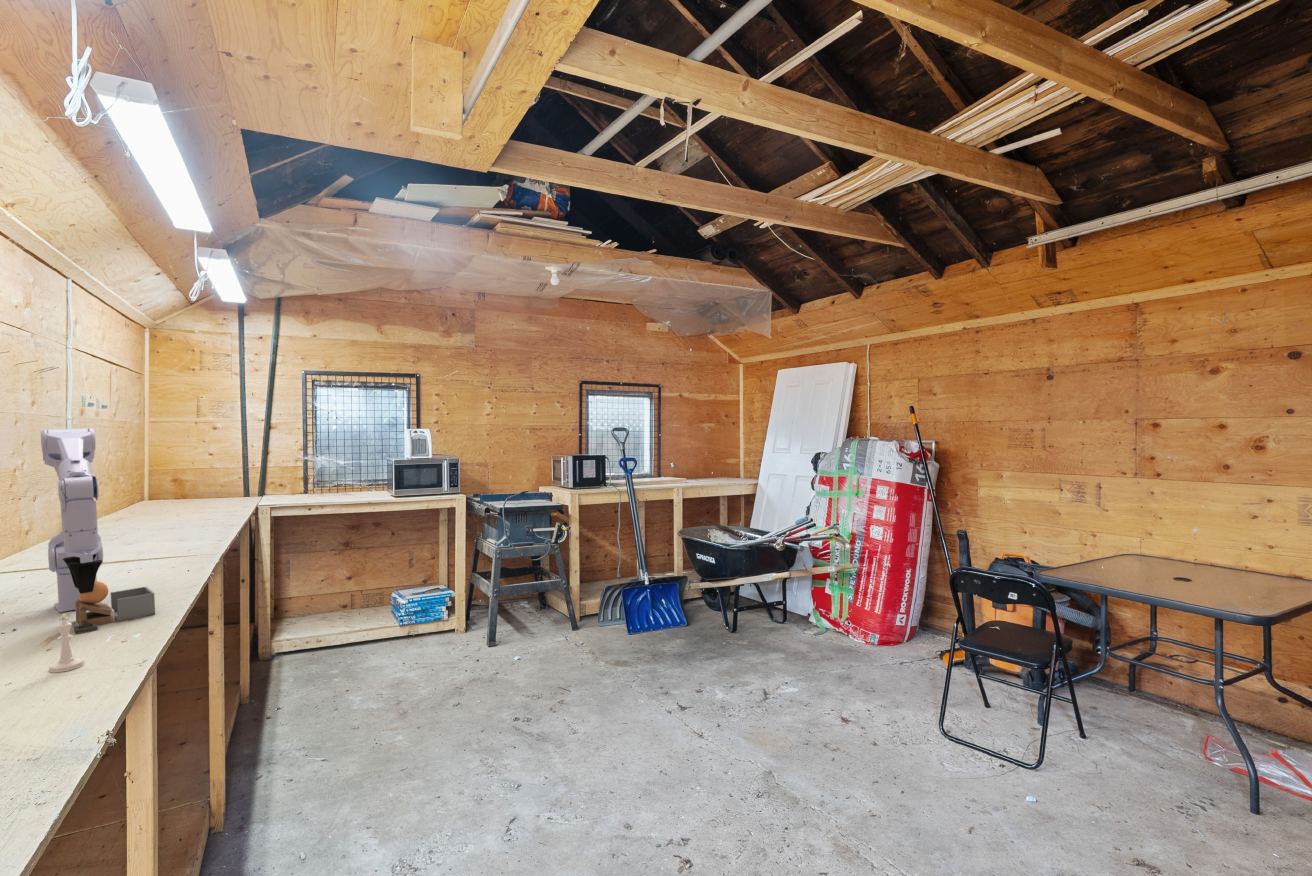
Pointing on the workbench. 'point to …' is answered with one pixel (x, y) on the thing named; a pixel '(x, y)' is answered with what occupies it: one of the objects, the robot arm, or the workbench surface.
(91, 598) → the ball
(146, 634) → the workbench surface
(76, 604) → the ramp
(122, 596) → the gray open storage bin
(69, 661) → the chess piece
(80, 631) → the dark gray picture frame
